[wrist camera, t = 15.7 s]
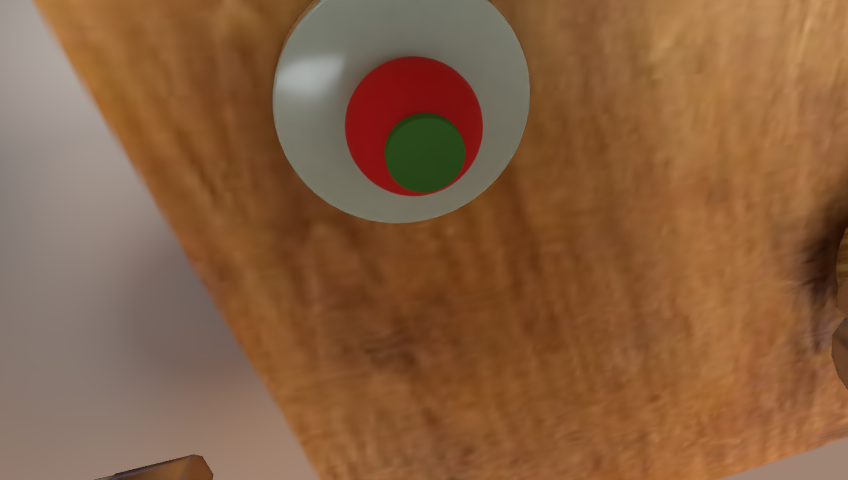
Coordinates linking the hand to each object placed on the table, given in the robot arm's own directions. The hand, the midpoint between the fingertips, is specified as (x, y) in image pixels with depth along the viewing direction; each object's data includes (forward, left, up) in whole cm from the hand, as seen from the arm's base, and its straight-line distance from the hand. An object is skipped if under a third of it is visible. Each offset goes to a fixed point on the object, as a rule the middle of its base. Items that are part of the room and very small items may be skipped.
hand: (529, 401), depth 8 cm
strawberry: (0, 0, -11) cm, 11 cm away
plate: (0, 0, -12) cm, 12 cm away
